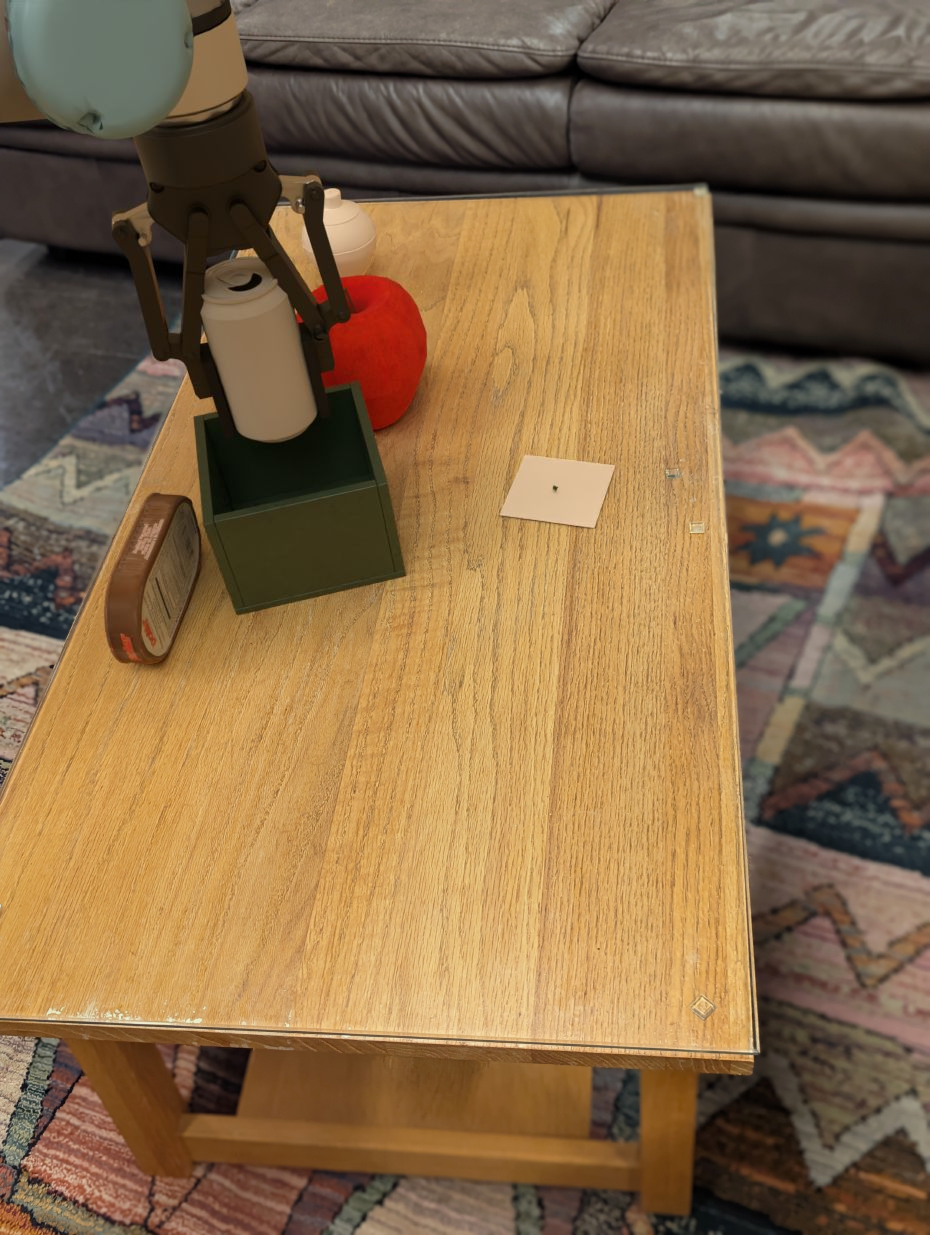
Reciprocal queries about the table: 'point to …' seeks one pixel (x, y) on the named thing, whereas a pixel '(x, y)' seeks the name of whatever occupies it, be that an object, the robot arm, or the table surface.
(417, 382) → the apple
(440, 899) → the table surface
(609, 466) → the coaster
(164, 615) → the tin
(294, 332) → the beverage can
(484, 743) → the table surface
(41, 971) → the table surface
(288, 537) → the waste bin
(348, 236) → the spinning top
